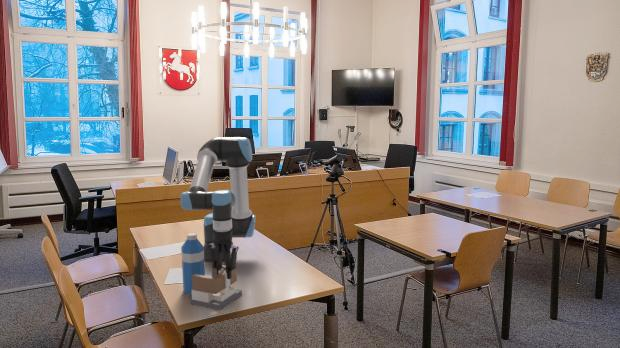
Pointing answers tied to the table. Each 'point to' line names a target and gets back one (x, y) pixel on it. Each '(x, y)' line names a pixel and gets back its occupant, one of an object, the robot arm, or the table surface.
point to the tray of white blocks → (215, 298)
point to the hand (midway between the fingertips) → (224, 285)
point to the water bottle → (192, 261)
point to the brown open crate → (212, 281)
